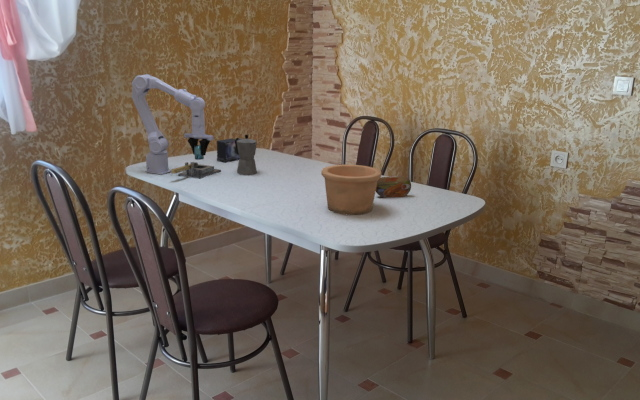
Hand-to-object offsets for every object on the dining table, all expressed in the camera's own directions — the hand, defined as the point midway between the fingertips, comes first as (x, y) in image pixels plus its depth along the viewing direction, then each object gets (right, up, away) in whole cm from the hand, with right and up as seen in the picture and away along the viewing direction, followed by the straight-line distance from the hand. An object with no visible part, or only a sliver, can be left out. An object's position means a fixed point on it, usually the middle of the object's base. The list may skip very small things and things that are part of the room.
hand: (199, 154), depth 248 cm
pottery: (+66, -24, -45) cm, 83 cm away
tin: (+84, -19, -27) cm, 91 cm away
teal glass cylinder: (0, -2, 0) cm, 2 cm away
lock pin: (-5, -8, -8) cm, 12 cm away
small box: (+8, 0, +32) cm, 33 cm away
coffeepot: (+20, -8, +6) cm, 23 cm away
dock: (0, -8, +2) cm, 9 cm away
